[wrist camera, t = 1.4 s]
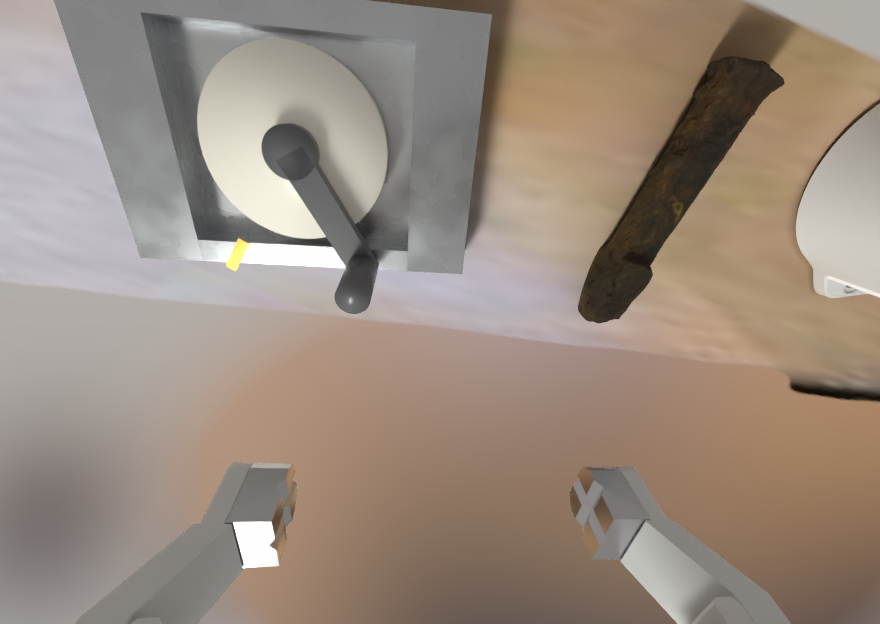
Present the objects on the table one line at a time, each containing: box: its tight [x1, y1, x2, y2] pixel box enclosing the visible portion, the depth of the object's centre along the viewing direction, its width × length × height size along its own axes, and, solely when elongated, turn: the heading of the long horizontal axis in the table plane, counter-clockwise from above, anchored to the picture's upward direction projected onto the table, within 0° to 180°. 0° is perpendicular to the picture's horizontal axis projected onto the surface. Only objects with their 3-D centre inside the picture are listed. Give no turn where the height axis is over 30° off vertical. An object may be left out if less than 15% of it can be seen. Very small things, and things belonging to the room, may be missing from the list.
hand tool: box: [578, 57, 784, 323], centre depth 26 cm, size 19×4×5 cm, turn 157°
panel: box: [54, 0, 492, 274], centre depth 24 cm, size 22×16×3 cm
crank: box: [197, 38, 389, 314], centre depth 21 cm, size 11×14×8 cm
